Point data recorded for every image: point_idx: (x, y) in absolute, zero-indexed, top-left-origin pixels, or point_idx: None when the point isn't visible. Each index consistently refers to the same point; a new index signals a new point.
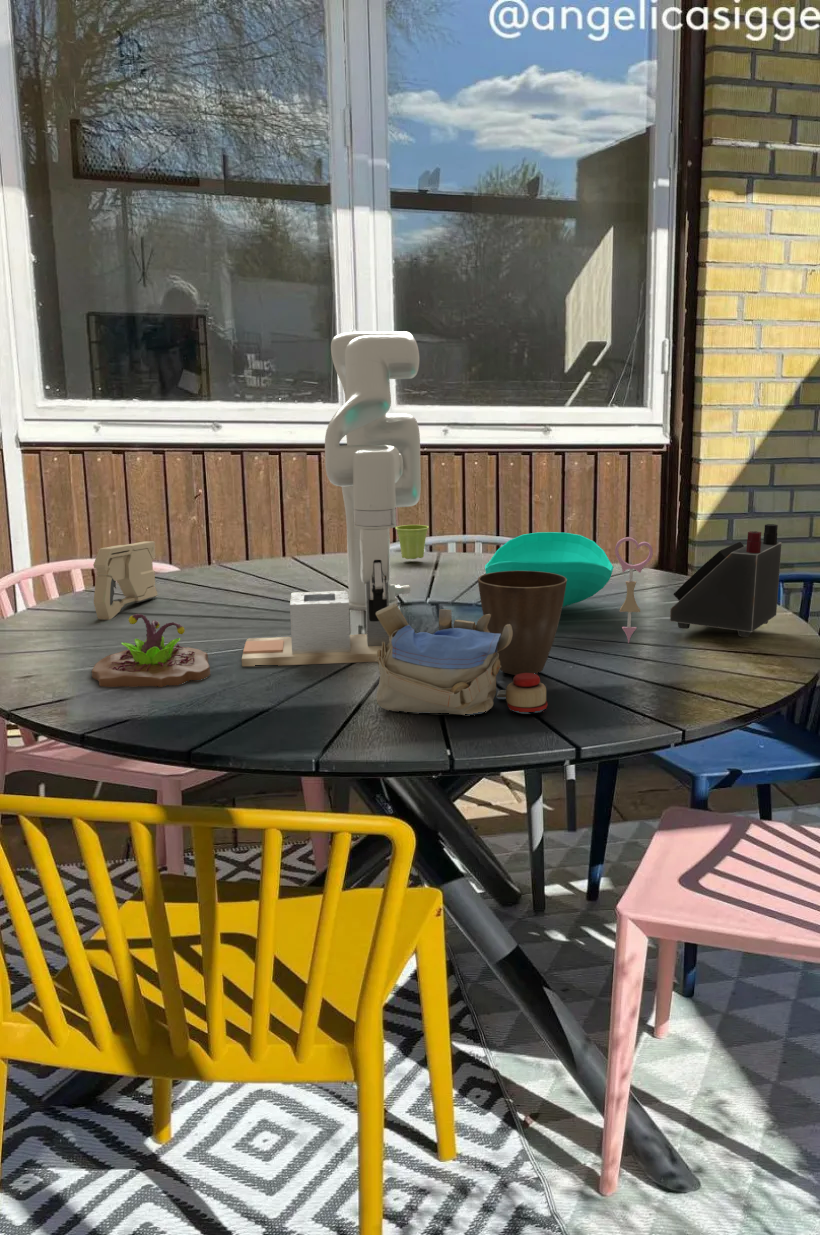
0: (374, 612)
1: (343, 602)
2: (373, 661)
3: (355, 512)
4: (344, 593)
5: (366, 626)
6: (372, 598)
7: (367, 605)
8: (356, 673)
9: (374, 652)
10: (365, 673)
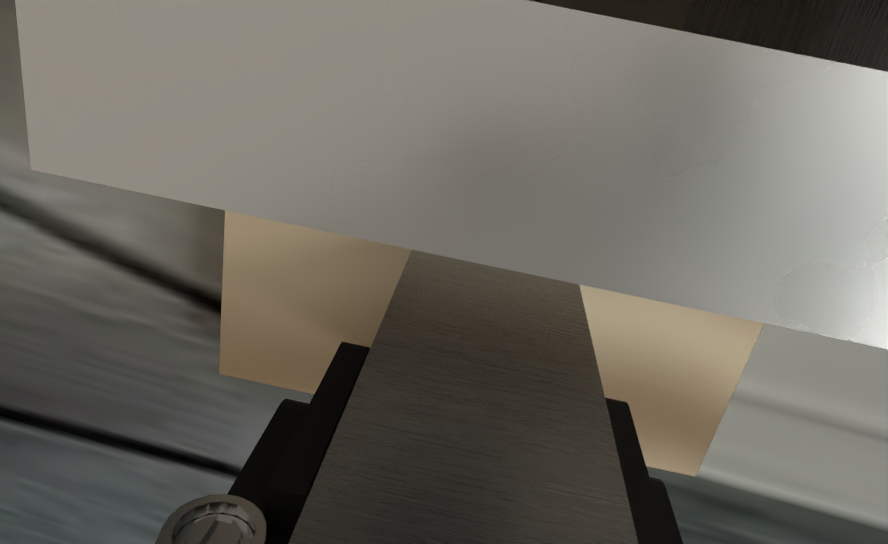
0: (271, 426)
1: (61, 80)
2: None
3: None
4: (850, 281)
5: (553, 312)
6: (176, 535)
7: (339, 425)
8: (7, 34)
9: (250, 234)
10: (5, 91)
